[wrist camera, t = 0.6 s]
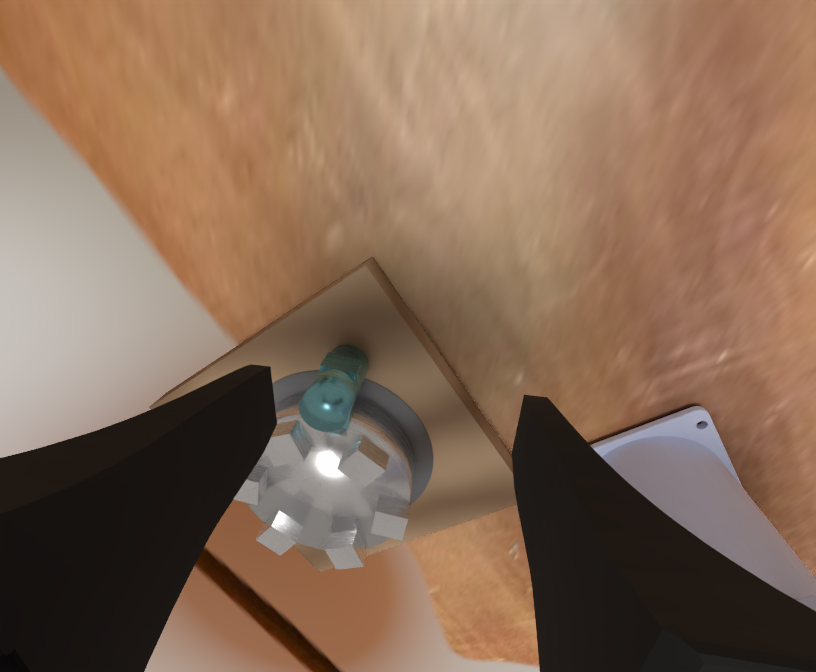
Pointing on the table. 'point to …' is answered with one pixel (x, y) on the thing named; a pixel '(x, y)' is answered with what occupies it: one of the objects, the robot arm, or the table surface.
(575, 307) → the table surface
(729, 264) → the table surface
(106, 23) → the table surface
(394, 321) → the dial board
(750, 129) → the table surface
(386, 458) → the rotary knob
